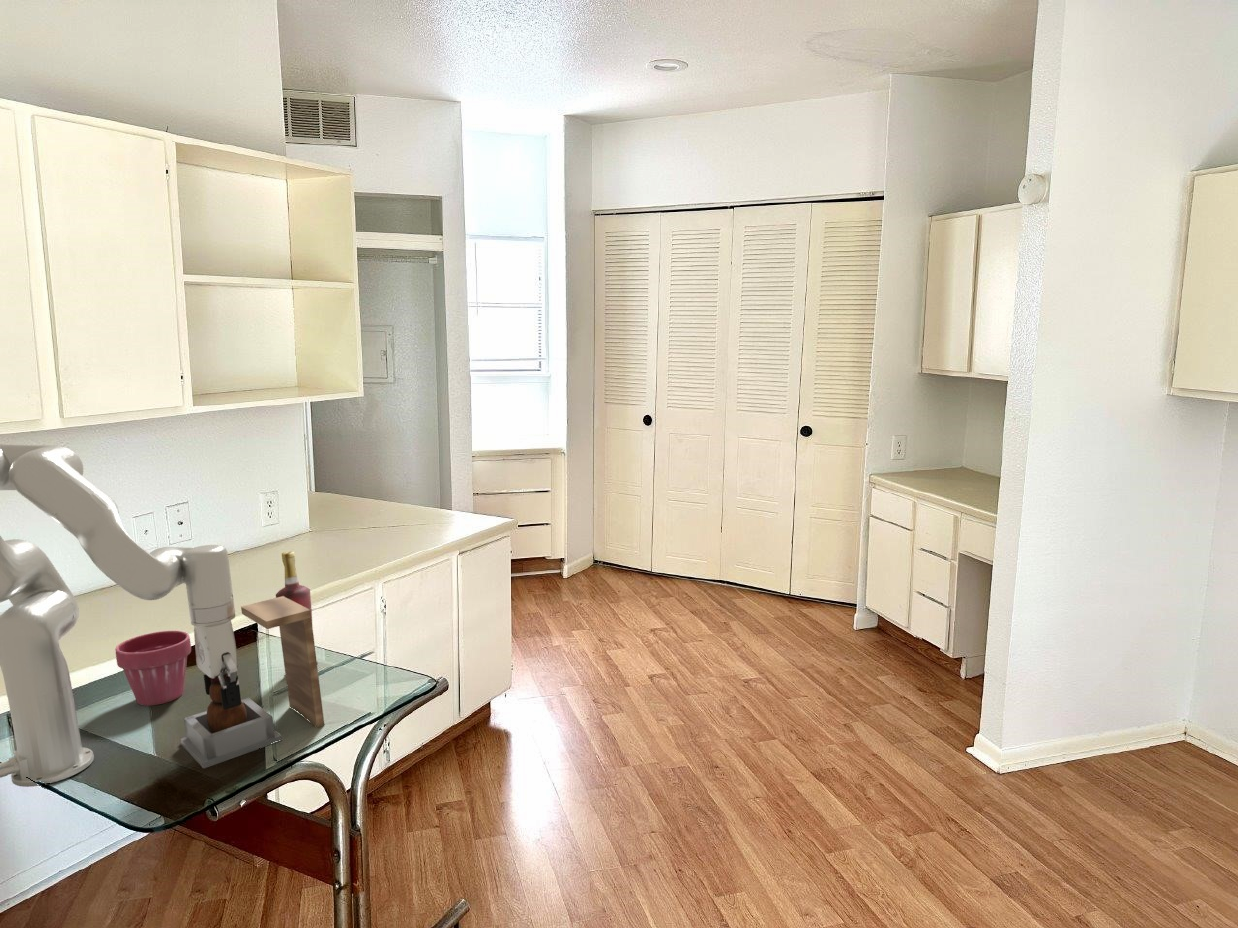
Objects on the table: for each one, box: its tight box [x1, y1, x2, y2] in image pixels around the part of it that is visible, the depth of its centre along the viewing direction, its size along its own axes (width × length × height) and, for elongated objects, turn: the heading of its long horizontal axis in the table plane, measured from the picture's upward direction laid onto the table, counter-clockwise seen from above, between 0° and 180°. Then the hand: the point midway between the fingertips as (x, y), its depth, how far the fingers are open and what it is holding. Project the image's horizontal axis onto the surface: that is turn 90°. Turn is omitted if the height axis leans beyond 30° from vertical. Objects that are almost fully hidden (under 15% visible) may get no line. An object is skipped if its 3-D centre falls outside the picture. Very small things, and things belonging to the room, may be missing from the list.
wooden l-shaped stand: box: [240, 596, 325, 729], centre depth 167 cm, size 8×14×24 cm, turn 42°
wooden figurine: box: [206, 670, 247, 734], centre depth 160 cm, size 7×6×15 cm
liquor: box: [275, 551, 319, 666], centre depth 193 cm, size 7×7×28 cm
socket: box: [180, 697, 283, 769], centre depth 161 cm, size 14×14×5 cm
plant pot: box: [115, 630, 192, 707], centre depth 185 cm, size 14×14×13 cm
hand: (223, 699), depth 160 cm, fingers open, 9 cm apart
